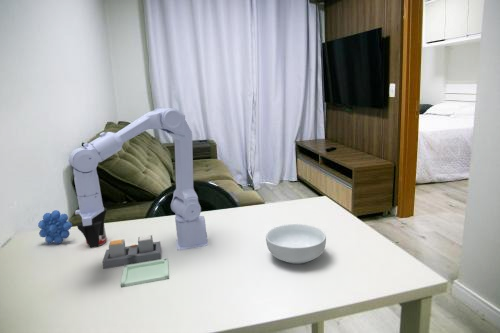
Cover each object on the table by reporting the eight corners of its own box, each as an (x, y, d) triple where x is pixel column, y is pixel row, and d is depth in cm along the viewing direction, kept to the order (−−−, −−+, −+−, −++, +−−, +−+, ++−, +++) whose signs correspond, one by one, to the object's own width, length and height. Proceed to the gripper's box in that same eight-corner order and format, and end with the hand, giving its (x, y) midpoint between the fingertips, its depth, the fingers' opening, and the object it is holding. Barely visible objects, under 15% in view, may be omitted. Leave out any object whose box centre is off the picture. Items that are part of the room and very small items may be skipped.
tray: (168, 262, 100) (167, 258, 99) (169, 280, 90) (168, 275, 90) (125, 269, 97) (124, 265, 97) (121, 288, 87) (120, 284, 87)
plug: (126, 257, 104) (124, 238, 103) (125, 262, 101) (122, 243, 100) (113, 259, 103) (110, 240, 102) (111, 265, 100) (108, 245, 99)
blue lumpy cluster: (81, 237, 121) (75, 205, 118) (70, 246, 114) (64, 212, 112) (49, 238, 121) (43, 206, 119) (37, 247, 115) (30, 213, 112)
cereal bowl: (331, 248, 102) (331, 226, 101) (318, 277, 88) (317, 252, 86) (278, 241, 110) (277, 220, 108) (257, 266, 95) (256, 242, 93)
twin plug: (154, 252, 106) (152, 234, 105) (154, 258, 103) (151, 239, 101) (141, 255, 105) (138, 236, 104) (140, 260, 102) (137, 241, 101)
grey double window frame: (161, 248, 109) (159, 240, 108) (161, 260, 101) (159, 251, 100) (107, 257, 105) (106, 248, 104) (103, 269, 97) (102, 260, 97)
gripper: (78, 187, 96) (86, 232, 99) (65, 203, 82) (74, 255, 86) (105, 184, 98) (112, 229, 101) (96, 199, 84) (104, 250, 87)
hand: (96, 240), depth 93 cm, fingers open, 7 cm apart
